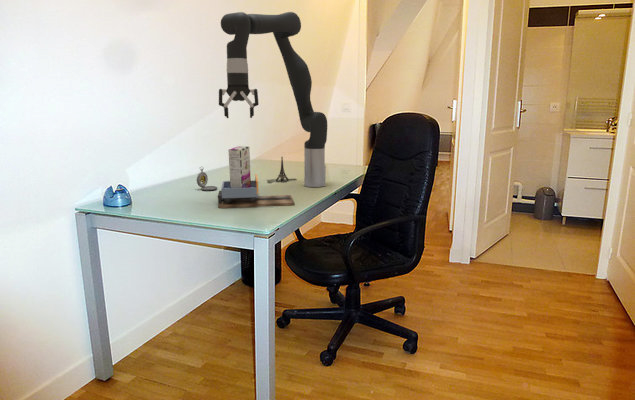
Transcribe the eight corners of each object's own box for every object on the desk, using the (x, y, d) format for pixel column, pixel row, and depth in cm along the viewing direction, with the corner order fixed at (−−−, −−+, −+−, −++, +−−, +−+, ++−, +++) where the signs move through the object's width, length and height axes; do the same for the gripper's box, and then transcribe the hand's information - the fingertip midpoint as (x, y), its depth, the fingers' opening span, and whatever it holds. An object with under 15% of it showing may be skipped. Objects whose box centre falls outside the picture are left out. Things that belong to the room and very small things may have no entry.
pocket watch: (216, 191, 194) (215, 168, 192) (196, 191, 193) (195, 168, 191) (217, 187, 202) (216, 165, 200) (198, 188, 201) (197, 165, 199)
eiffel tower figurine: (296, 179, 225) (296, 152, 222) (299, 183, 216) (299, 155, 213) (266, 180, 222) (265, 153, 219) (268, 184, 213) (267, 156, 210)
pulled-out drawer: (257, 195, 180) (256, 174, 178) (258, 203, 165) (258, 180, 164) (223, 196, 178) (222, 175, 176) (221, 204, 163) (221, 181, 162)
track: (290, 197, 182) (290, 187, 181) (294, 205, 168) (294, 194, 168) (219, 199, 177) (219, 189, 177) (218, 207, 164) (217, 197, 163)
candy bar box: (238, 187, 177) (237, 145, 173) (251, 188, 176) (250, 146, 173) (229, 193, 166) (227, 148, 163) (242, 193, 165) (241, 149, 162)
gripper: (257, 72, 167) (258, 117, 170) (217, 72, 165) (219, 117, 168) (257, 71, 160) (259, 118, 163) (216, 71, 157) (219, 118, 161)
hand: (239, 118), depth 166 cm, fingers open, 8 cm apart
